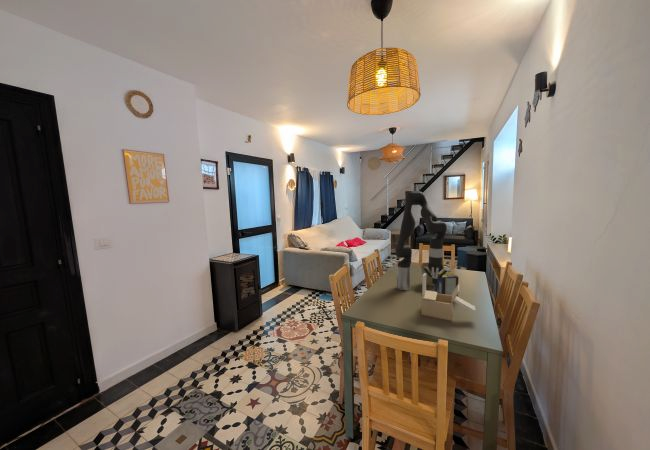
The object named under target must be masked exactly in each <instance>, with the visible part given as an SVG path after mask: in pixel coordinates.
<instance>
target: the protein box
mask: <svg viewBox="0 0 650 450" xmlns="http://www.w3.org/2000/svg"><path fill="white" fill-rule="evenodd" d="M441 273H442V270H441V271H440V272H439V273H438V275H440V274H441ZM435 277H436V273H435ZM459 279H460V277H459V276H458V275H457V274H455V273H454V272H452V271H451V270H447V272H446V273H445V274H444V275H443V276H442V277H441V278H438V283H437V284H436V285H435V286H434V292H437V293H439V294H445V295H452V293H453V291H454V290H455V288H456V287H457V285H458V284H459ZM457 297H459V294H458V295H457Z"/></svg>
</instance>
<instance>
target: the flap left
mask: <svg viewBox="0 0 650 450" xmlns="http://www.w3.org/2000/svg"><path fill="white" fill-rule="evenodd" d="M421 291H422V293H421V295H422V298H421V300H422V299H426V300H432V301H436V297H437V292H436V291H435V290H427V285H426V273H424V274H423V275H422V290H421Z"/></svg>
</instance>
